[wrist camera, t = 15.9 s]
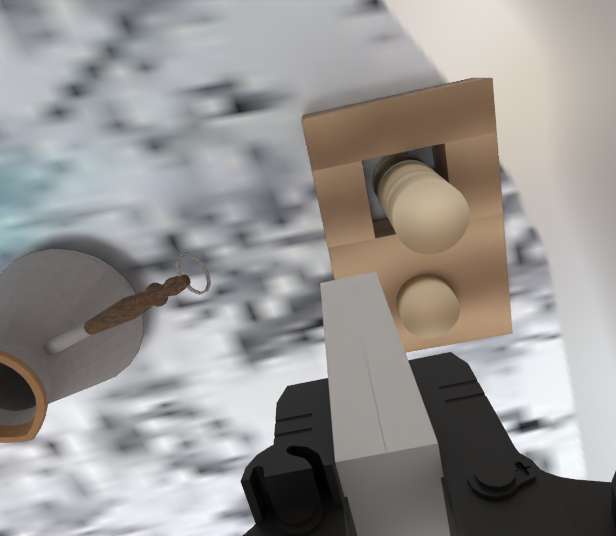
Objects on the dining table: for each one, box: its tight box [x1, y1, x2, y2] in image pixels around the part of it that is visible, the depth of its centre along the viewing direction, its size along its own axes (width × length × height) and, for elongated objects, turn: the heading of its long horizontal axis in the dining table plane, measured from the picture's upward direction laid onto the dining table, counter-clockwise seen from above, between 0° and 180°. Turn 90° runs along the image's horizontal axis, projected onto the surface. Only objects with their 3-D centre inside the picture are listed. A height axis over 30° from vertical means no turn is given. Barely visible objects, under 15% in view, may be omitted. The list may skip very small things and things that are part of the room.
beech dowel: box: [372, 152, 470, 255], centre depth 32 cm, size 4×4×11 cm
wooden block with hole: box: [301, 78, 512, 353], centre depth 36 cm, size 18×12×6 cm, turn 12°
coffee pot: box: [0, 249, 211, 443], centre depth 33 cm, size 21×12×15 cm, turn 123°
